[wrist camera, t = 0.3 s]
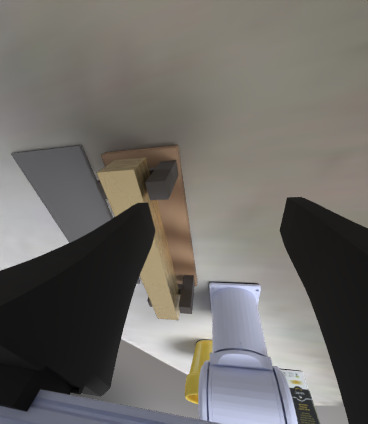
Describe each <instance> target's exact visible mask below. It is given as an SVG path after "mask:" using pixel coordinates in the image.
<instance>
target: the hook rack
mask: <svg viewBox="0 0 368 424" xmlns="http://www.w3.org/2000/svg"><path fill="white" fill-rule="evenodd" d="M101 156H102V159H103V162H104V164H105V167H106V166H107V165H109V164H110V163H111V162H113V161H114V160H121V159H132V158H143V157H147V160H148V164H149V169H150V173H151V175H150V176H149V178H148V179H147V180H146V182H145V184H146V188H147V192H148V195H149V199H150V200H157V201H158V206H159V210H160V214H161V218H162V222H163V226H164V230H165V234H166V238H167V243H168V247H169V251H170V255H171V259H172V263H173V267H174V271H175V275H176V280H177V284H178V288H179V292H180V301H179V310H180V313H186V314H192V306H193V295H194V286H197V276H196V269H195V262H194V255H193V248H192V240H191V233H190V226H189V219H188V212H187V205H186V198H185V190H184V183H183V176H182V169H181V162H180V155H179V148H178V145H172V146H163V147H153V148H143V149H134V150H124V151H114V152H106V153H104V154H102V155H101ZM96 184H97V186H98V188H99V190H100V193H101V195H102V197H103V199H108V198H107V196H106V194H105V191H104V189H103V187H102V184H101V182H100V180H99V181H98V182H96ZM147 301H148V303H149V305H150V306H151V307H153V306H152V303H151V301H150V299H149V297H148V300H147Z"/></svg>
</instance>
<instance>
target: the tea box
mask: <svg viewBox="0 0 368 424" xmlns="http://www.w3.org/2000/svg"><path fill="white" fill-rule="evenodd" d="M281 371H282V372H283V374H284V375H285V377H286V380H287V382H288V385H289V389H290V392H291V396H292V399H293V403H294V408H295V412H296V417H297V421H298V424H320V422H319V418H318V416H317V413H316V410H315V407H314V403H313V400H312V397H311V394H310V391H309V389H308V386H307V383H306V380H305V377H304V374H303V372H302V371H292V370H281Z"/></svg>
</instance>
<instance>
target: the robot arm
mask: <svg viewBox="0 0 368 424" xmlns="http://www.w3.org/2000/svg"><path fill="white" fill-rule="evenodd" d="M155 231H156V230H155V226H154V223H153V219H152V215H151V211H150V207H149V204H148V202H145V203H137V204H135V205H133V206H131V207H130V208H128V209H126V210H125V211H123V212H122V213H120V214H119V215H117V216H116V217H114V218H113V219H111V220H110V221H108V222H106V223H105V224H103V225H101V226H100V227H98V228H96V229H95V230H93V231H91V232H90V233H88V234H86V235H84V236H82V237H81V238H79V239H77V240H75V241H73V242H71V243H69V244H67V245H64V246H62V247H60V248H58V249H55V250H53V251H51V252H48V253H46V254H44V255H42V256H39V257H37V258H34V259H31V260H29V261H26V262H24V263H21V264H18V265H15V266H13V267H10V268H7V269H4V270H1V271H0V424H298V421H297V417H296V412H295V408H294V403H293V399H292V396H291V392H290V389H289V385H288V382H287V380H286V377H285V375H284V374H283V372H282V371H281V370H280V369H279V368H278V367H277V366H272V362H271V358H270V357H268V354H267V349H266V344H265V339H264V335H263V330H262V325H261V320H260V316H259V311H258V300H259V295H260V290H261V287H260V285H257V284H234V283H210V284H209V289H210V302H211V313H212V353H210V361H208V360H206V361H205V362H204V364H203V365H202V367H201V370H200V376H199V389H198V408H199V419H194V418H189V417H184V416H179V415H173V414H168V413H163V412H158V411H152V410H147V409H142V408H137V407H131V406H126V405H121V404H115V403H110V402H105V401H99V400H94V399H88V398H84V397H78V396H73V395H70V393H76V394H81V393H84V394H90V395H95V396H102V395H103V394H105V393H106V392H107V391H108V390H109V389H110V386H111V381H112V376H113V371H114V367H115V362H116V357H117V353H118V348H119V344H120V340H121V336H122V332H123V328H124V324H125V320H126V317H127V313H128V309H129V306H130V302H131V299H132V296H133V292H134V289H135V286H136V283H137V281H138V278H139V276H140V273H141V271H142V269H143V266H144V264H145V261H146V259H147V257H148V254H149V252H150V249H151V247H152V243H153V240H154V236H155ZM280 233H281V236H282V239H283V242H284V245H285V248H286V250H287V252H288V254H289V257H290V259H291V261H292V263H293V265H294V267H295V269H296V271H297V273H298V275H299V277H300V279H301V281H302V283H303V285H304V287H305V289H306V291H307V294H308V296H309V298H310V301H311V304H312V306H313V309H314V312H315V314H316V317H317V320H318V323H319V326H320V329H321V332H322V334H323V337H324V340H325V343H326V346H327V349H328V353H329V356H330V359H331V362H332V366H333V369H334V372H335V375H336V378H337V382H338V385H339V389H340V393H341V396H342V400H343V403H344V407H345V410H346V414H347V418H348V422H349V424H368V228H366V227H363V226H361V225H359V224H357V223H355V222H352V221H350V220H348V219H346V218H344V217H342V216H340V215H338V214H336V213H334V212H332V211H330V210H328V209H326V208H324V207H322V206H320V205H318V204H316V203H314V202H312V201H309V200H307V199H305V198H302V197H290V198H287V201H286V205H285V210H284V214H283V218H282V223H281V227H280Z"/></svg>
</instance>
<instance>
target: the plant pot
mask: <svg viewBox="0 0 368 424" xmlns="http://www.w3.org/2000/svg"><path fill="white" fill-rule="evenodd" d="M210 353H212V340H201V341H198V342H197V343H196V347H195V352H194V356H193V361H192V365H191V369H190V374H188V375H187V378H186V385H185V398H186V399H187V400H189V401H190V402H193V403H196V404H198V389H199V376H200V370H201V367H202V365H203V364H204V362H205V361H206V360H208V361H210Z"/></svg>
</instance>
